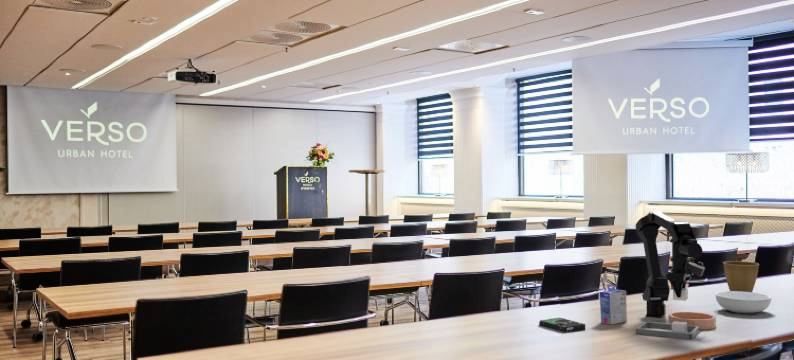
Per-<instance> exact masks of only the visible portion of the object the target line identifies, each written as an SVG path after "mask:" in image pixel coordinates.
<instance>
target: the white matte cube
mask: <svg viewBox="0 0 794 360" xmlns="http://www.w3.org/2000/svg"><path fill="white" fill-rule="evenodd" d="M688 299H689V288H687V287H685V288H682V292H681V297H680V298H678V297H677V296H676V293H675V291H674V289H673V288H672V300H674V301H683V302H685V301H687V300H688Z"/></svg>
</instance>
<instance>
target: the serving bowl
mask: <svg viewBox="0 0 794 360" xmlns="http://www.w3.org/2000/svg"><path fill="white" fill-rule="evenodd" d="M715 300H716V302H717V304H718V305H719V306H720V307H722V308H723V309H725V310H728V311H731V312H732V313H737V314H747V315H748V314H755V313H760V312H763V311H765V310H766V309H768V308H769V306H770V305H771V301H772V296H770V295H769V294H764V293H760V292H753V291H752V292H741V291H730V290H728V291H725V290H724V291H718V292H716V293H715Z"/></svg>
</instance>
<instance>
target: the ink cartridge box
mask: <svg viewBox="0 0 794 360" xmlns="http://www.w3.org/2000/svg"><path fill="white" fill-rule="evenodd" d="M606 287H607V289H608V290H604V291H599V303H600V304H599V307H600V323H601V324H606V325H614V324H615V325H616V324H620V323H621V324H622V323H627V321H628V316H627V315H628V314H627V313H628V311H627V309H628V308H627V291H626V290H625V289H624V290H623V289H616V288H615V285H614V284H613V283H612V284H606ZM610 287H611V288H610Z"/></svg>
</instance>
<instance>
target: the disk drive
mask: <svg viewBox="0 0 794 360" xmlns="http://www.w3.org/2000/svg"><path fill="white" fill-rule="evenodd" d="M538 323H539V324H538V326H539V327H542V328H545V329H550V330H553V331H556V332H559V333H564V334H565V333H573V332H580V331H586V324H585V323H582V322H578V321H575V320H570V319H566V318H562V317H554V318H548V319H540V320H539V322H538Z"/></svg>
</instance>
